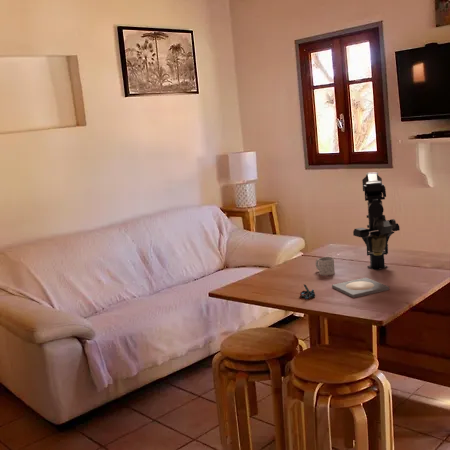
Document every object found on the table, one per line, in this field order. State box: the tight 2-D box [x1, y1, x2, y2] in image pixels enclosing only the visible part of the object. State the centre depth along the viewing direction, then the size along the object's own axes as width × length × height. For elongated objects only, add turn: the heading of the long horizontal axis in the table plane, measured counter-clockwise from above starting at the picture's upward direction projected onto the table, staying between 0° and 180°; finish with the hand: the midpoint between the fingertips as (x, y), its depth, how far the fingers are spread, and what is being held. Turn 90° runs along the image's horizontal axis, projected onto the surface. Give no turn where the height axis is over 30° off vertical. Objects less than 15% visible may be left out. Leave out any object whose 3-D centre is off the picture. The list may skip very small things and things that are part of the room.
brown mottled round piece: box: [371, 235, 386, 256], centre depth 239 cm, size 8×7×8 cm
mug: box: [315, 256, 336, 277], centre depth 259 cm, size 10×7×7 cm
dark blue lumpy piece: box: [298, 284, 316, 301], centre depth 229 cm, size 8×7×8 cm
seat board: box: [331, 277, 390, 299], centre depth 232 cm, size 16×16×1 cm
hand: (377, 250), depth 240 cm, fingers closed on brown mottled round piece, 6 cm apart
